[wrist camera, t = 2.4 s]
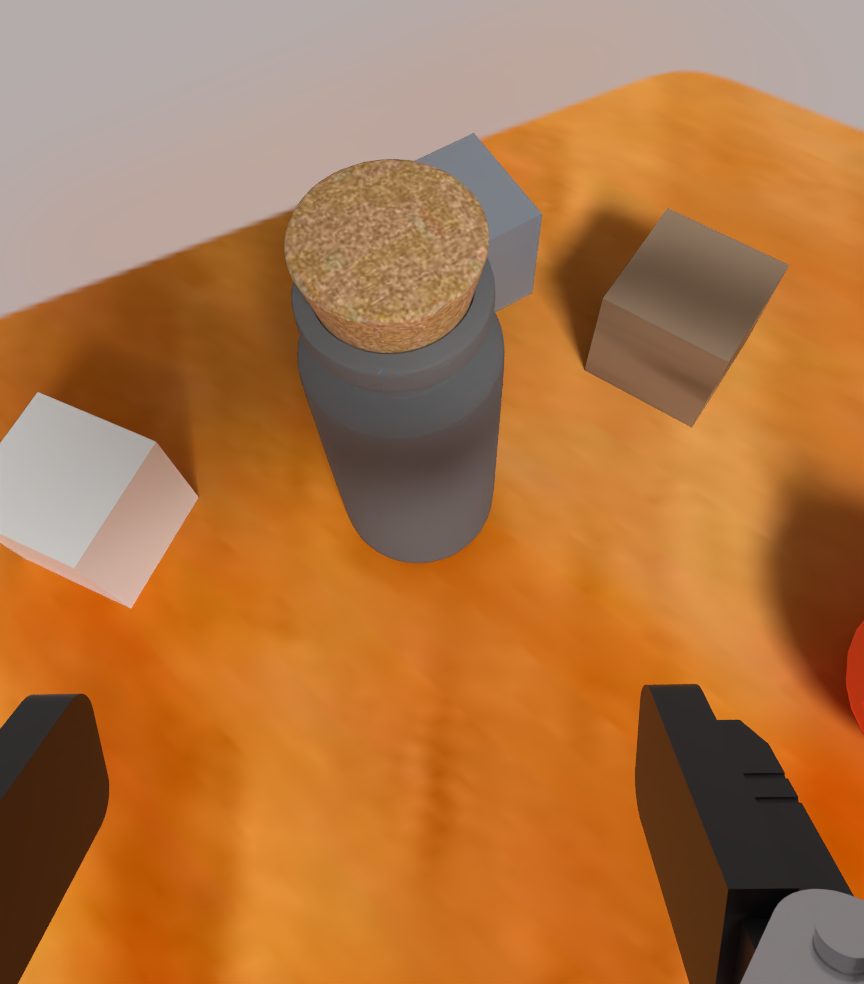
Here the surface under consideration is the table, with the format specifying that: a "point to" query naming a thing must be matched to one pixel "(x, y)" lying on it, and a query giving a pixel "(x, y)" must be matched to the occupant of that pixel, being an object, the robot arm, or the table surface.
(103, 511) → the offwhite block
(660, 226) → the walnut block
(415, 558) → the bottle
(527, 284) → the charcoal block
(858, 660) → the peach
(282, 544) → the table surface
